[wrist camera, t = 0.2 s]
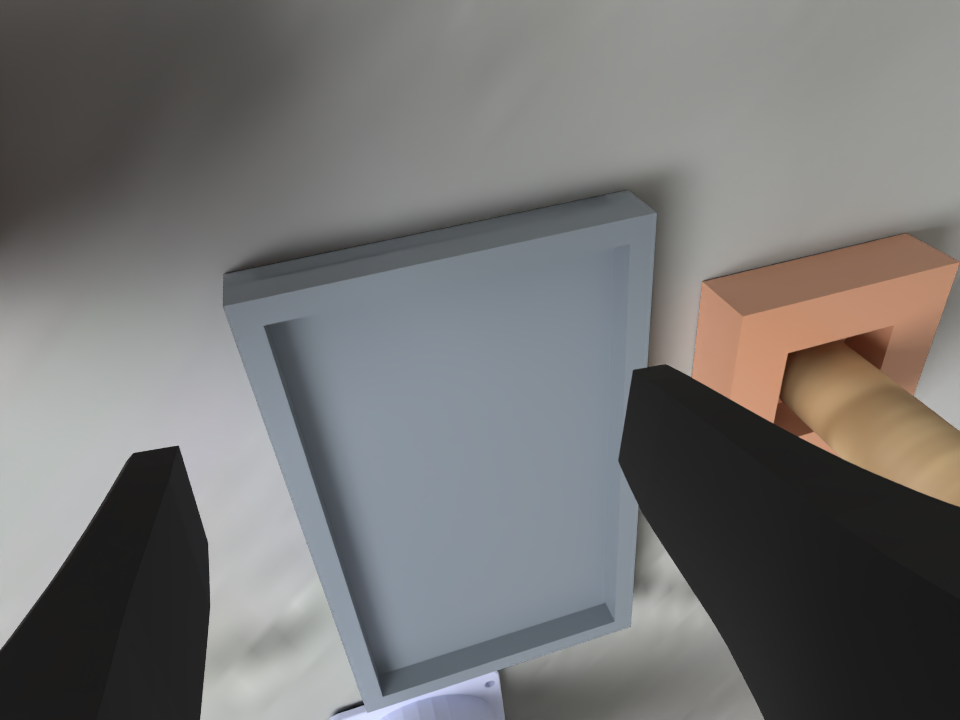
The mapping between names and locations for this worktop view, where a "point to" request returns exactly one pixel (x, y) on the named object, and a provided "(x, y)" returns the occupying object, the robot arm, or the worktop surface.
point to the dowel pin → (872, 420)
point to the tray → (459, 433)
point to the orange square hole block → (821, 319)
